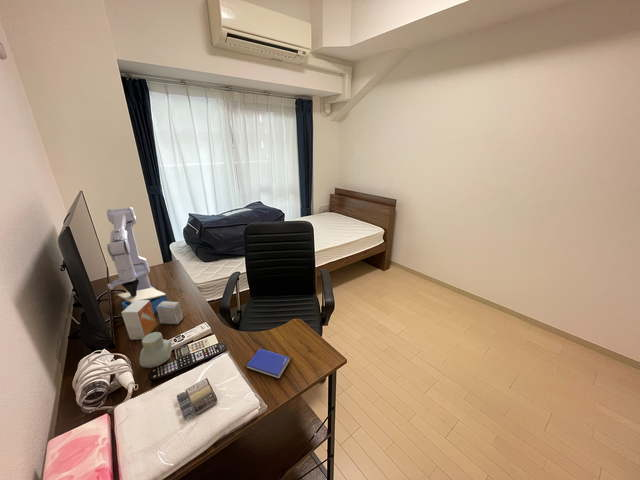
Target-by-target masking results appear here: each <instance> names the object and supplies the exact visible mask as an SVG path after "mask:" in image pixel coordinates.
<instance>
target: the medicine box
mask: <svg viewBox="0 0 640 480" xmlns="http://www.w3.org/2000/svg"><path fill="white" fill-rule="evenodd" d="M156 309H157V312H156V313H157V315H158V318H159V322H160V324H166V325H167V324H168V325H179V324H180V322H182V321H183V319H184V315H183V314H184V313H183V311H182V306H181V304H180V302H179V301H168V302H167V301H163V302H161V303H160V304H159V305H158V306H157V307H156Z"/></svg>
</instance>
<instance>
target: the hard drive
mask: <svg viewBox="0 0 640 480" xmlns="http://www.w3.org/2000/svg"><path fill="white" fill-rule="evenodd" d="M290 361H291V357H290V356H286V355H282V354H280V353H276V352H272V351H270V350H266V349H263V348H259V349H257V351H256V352H255V354H254V355H253V356H252V357H251V359H250V360H249V361H248V362H247V364H246V369H249V370H252V371H255V372H259V373H261V374H264V375H267V376H270V377H274V378H276V379H280V378H281V376H282V374H283V373H284V371H285V370H286V367H287V366H288V364H289V363H290Z"/></svg>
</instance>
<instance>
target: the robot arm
mask: <svg viewBox="0 0 640 480" xmlns="http://www.w3.org/2000/svg"><path fill="white" fill-rule="evenodd" d="M106 217H107V219H108V221H109V223H111V224H112V225H113V229H112V230H111V231H110V238H109V239H110V240H109V243H107V244H106V245H107V246H106V248H107V252H108V255H109V257H110V258H111V260H112V261H113V262H114V266H115V270H116V272H117V276H118V278H117V279H115V280H113V281H111V282H109V283H107V285H106V286H107V289H109V290H113V289H114V288H117V287H119V286H122V287H123V288H124V289H125V290H126V291H127V292H129V293H130V295H131V296H132V297H134V296H137V290H143V289H148V288H154V289H156V287H154V286H152V285H151V281H150V278H149V273H150V271H151V269H150V265H149V262H148V259H147V258H145V257H143V256H141V255H140V253H139V248H138V245H137V240H136V237H135V232H134V225H136V224H137V217H136V212H135V210H134V208H133V207H131V206H129V207H121V208H112V209H111V208H108V209H107V210H106Z"/></svg>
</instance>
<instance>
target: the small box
mask: <svg viewBox="0 0 640 480" xmlns="http://www.w3.org/2000/svg"><path fill="white" fill-rule="evenodd" d="M121 316H122V319H123V322H124V325H125V328H126V331H127V334H128V337H129V340H132V341H133V340H142V339H143V338H144V337H145V336H146V335H148V334H150V333H153V331H154V330H155V329H156V328H157V327H158V324H157V321H156V317H155V313H153V310H152V306H151V302H150V300H135V301H134V302H133V303H131V304H130V305H129V306H128V307H127V308H126V309H125V310H122V311H121Z"/></svg>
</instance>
